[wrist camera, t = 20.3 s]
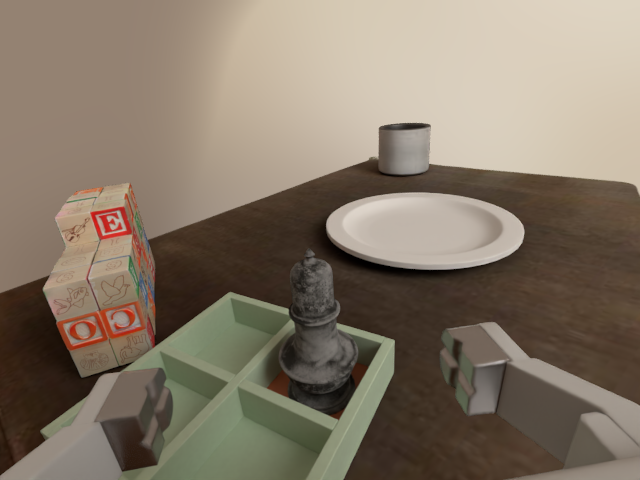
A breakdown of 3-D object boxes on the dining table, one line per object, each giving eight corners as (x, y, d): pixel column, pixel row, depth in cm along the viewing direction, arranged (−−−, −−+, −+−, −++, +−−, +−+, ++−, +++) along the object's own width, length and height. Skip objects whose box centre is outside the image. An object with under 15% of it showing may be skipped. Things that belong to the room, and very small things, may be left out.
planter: (378, 178, 85) (378, 130, 81) (378, 166, 96) (378, 124, 92) (431, 176, 83) (434, 128, 78) (425, 164, 94) (427, 121, 90)
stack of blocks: (158, 356, 32) (116, 235, 27) (80, 381, 30) (20, 255, 25) (155, 263, 50) (130, 180, 45) (106, 274, 48) (74, 189, 43)
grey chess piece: (373, 378, 27) (372, 241, 23) (330, 435, 23) (317, 281, 18) (314, 350, 31) (302, 225, 26) (267, 395, 27) (243, 256, 22)
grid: (394, 372, 29) (394, 339, 27) (265, 646, 15) (253, 609, 14) (235, 318, 37) (229, 291, 36) (59, 465, 23) (39, 430, 22)
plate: (326, 209, 67) (325, 197, 66) (473, 200, 66) (475, 188, 65) (328, 287, 41) (326, 270, 40) (569, 274, 40) (574, 256, 39)
